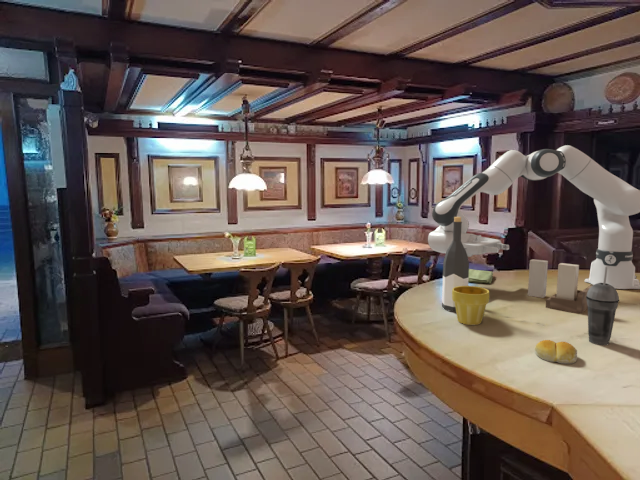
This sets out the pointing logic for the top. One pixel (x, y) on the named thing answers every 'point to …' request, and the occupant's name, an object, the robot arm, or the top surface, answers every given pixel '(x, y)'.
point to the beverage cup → (601, 311)
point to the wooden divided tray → (569, 302)
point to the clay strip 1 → (537, 278)
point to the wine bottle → (454, 267)
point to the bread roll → (556, 352)
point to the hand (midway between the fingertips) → (503, 248)
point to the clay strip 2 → (567, 281)
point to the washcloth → (480, 276)
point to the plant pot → (470, 303)
